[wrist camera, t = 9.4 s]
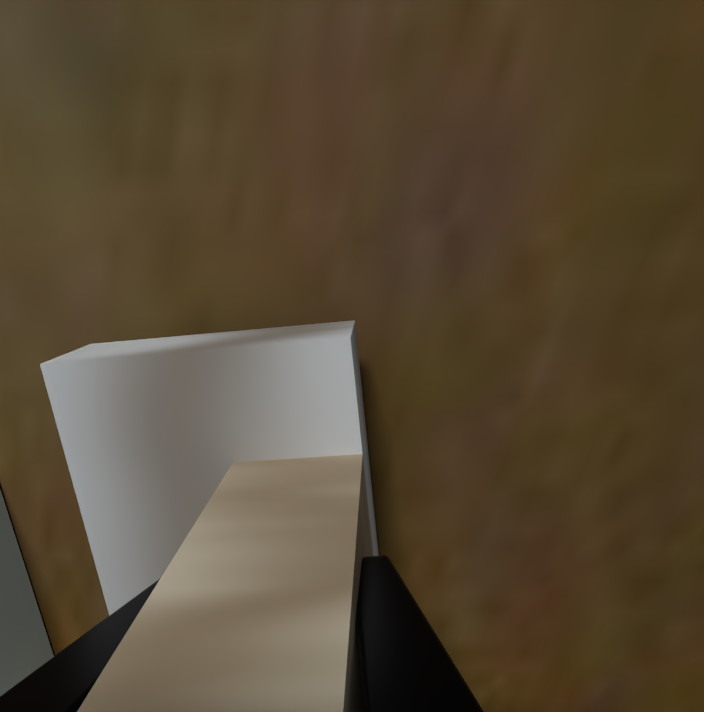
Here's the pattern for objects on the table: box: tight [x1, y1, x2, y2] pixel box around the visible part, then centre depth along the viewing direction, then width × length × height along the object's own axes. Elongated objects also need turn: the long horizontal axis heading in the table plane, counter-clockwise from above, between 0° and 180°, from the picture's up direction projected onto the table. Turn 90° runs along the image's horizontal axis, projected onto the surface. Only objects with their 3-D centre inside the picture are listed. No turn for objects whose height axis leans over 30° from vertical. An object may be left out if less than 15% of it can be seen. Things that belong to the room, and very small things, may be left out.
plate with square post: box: [40, 320, 379, 712], centre depth 7 cm, size 6×7×9 cm
